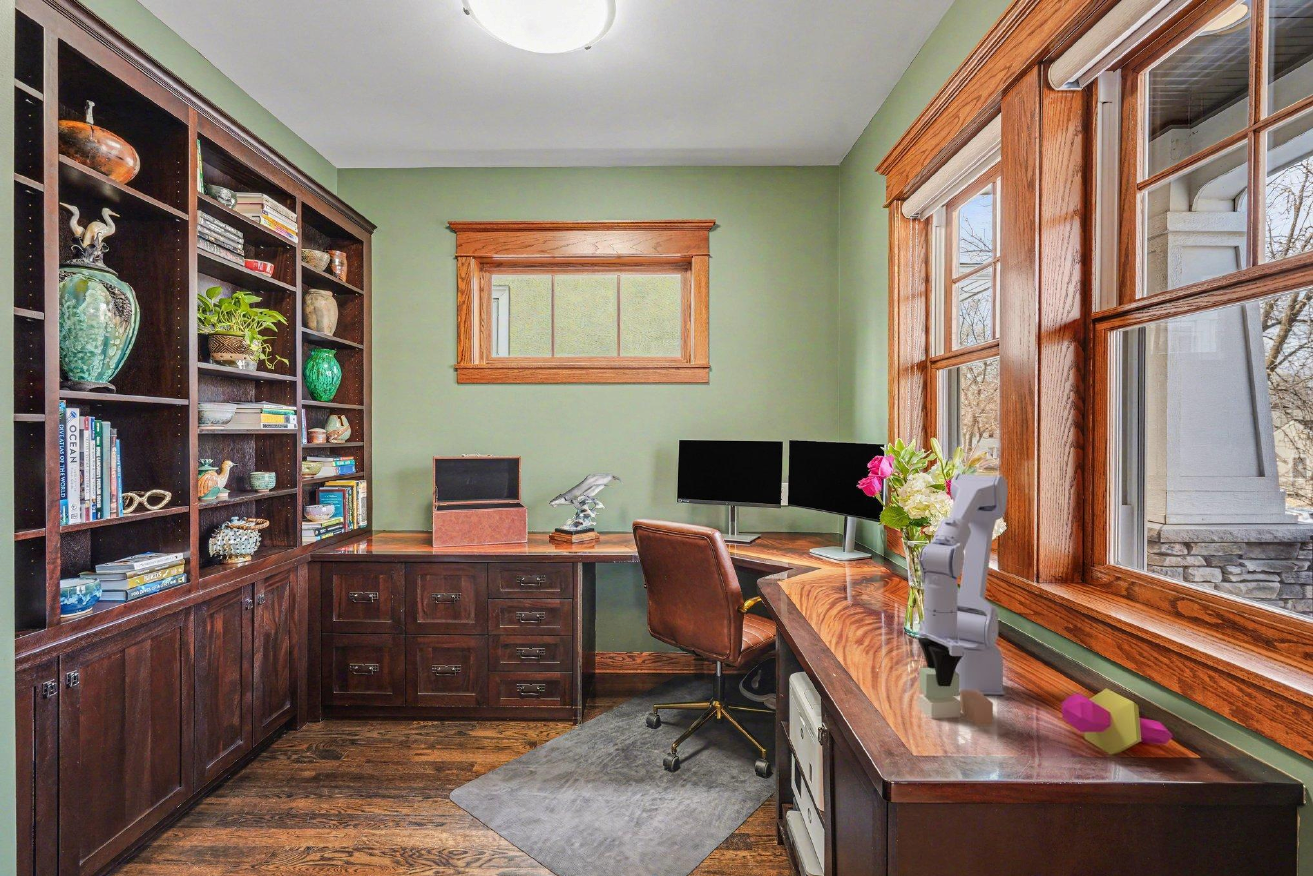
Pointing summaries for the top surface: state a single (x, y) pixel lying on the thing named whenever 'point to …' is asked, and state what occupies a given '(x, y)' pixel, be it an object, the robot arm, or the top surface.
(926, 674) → the green brick
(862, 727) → the top surface
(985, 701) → the terracotta brick
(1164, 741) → the toy
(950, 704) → the cream brick
